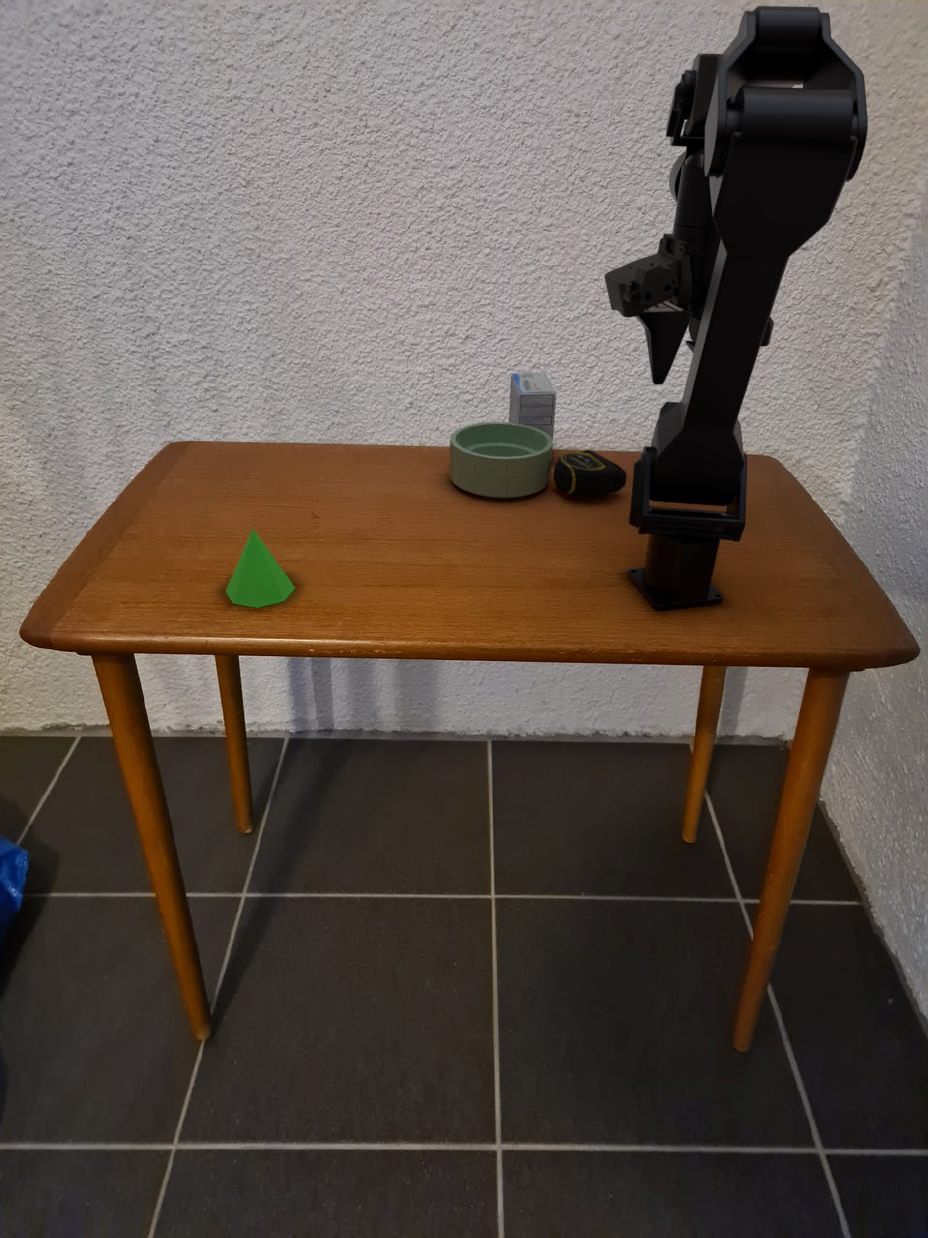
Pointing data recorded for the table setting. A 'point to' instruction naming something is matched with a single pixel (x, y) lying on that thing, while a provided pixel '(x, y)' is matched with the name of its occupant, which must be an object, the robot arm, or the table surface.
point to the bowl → (500, 459)
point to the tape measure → (588, 475)
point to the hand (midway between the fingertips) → (677, 397)
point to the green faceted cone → (258, 577)
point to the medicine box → (532, 401)
